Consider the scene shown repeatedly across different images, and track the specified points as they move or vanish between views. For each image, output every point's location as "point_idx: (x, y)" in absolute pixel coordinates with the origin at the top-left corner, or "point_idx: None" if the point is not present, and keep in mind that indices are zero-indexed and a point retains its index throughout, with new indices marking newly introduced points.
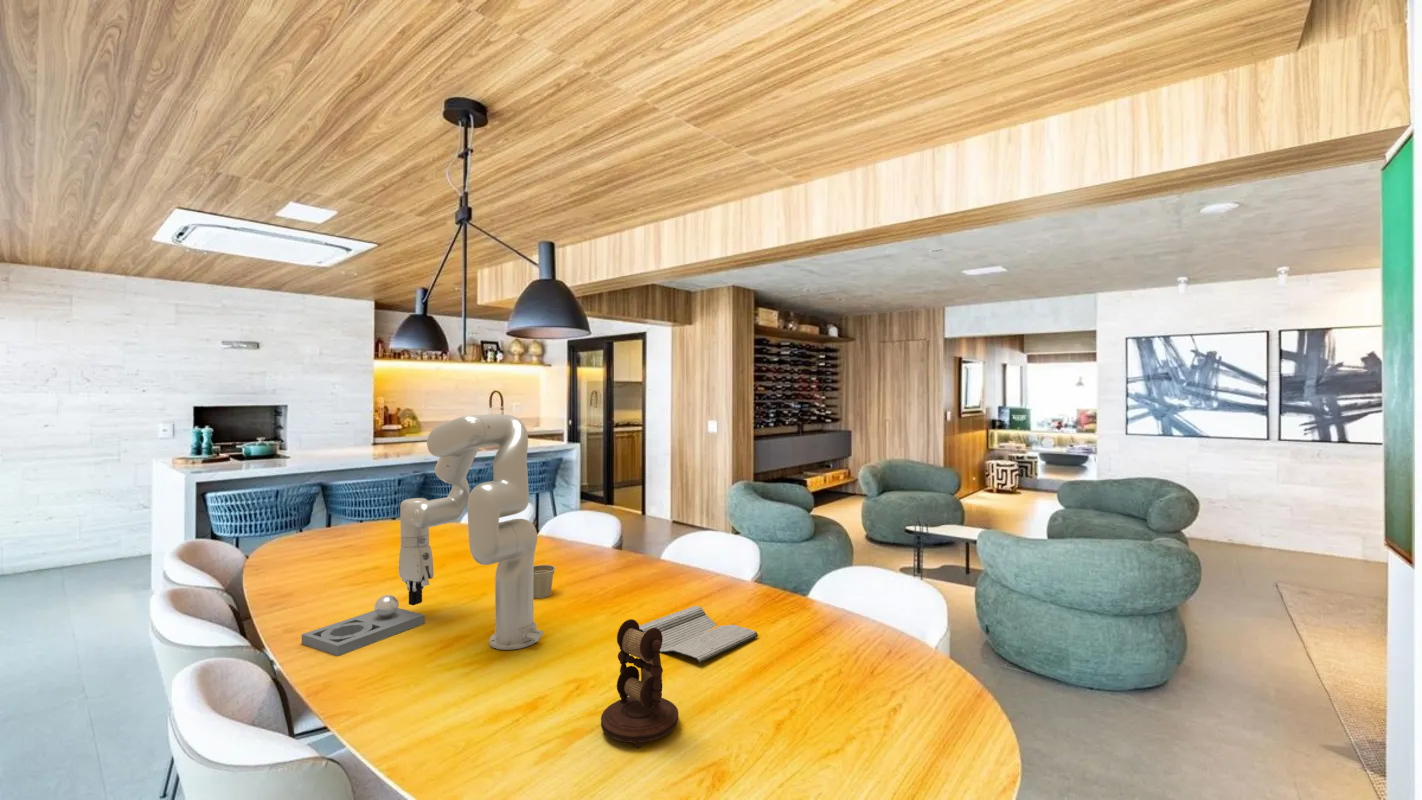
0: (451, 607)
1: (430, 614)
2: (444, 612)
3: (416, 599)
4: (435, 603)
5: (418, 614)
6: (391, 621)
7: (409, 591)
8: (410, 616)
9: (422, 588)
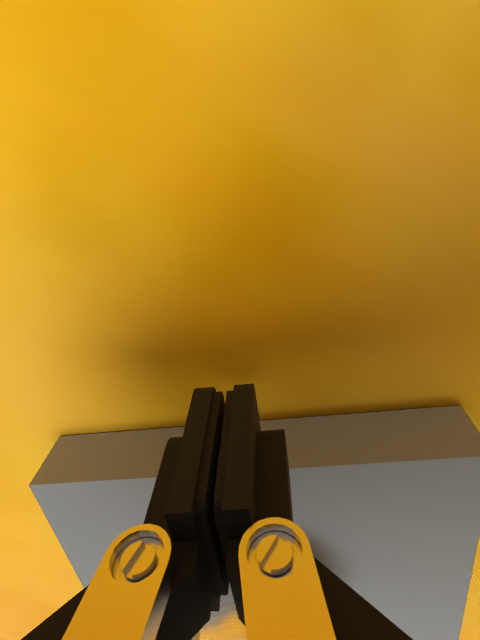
0: (325, 26)
1: (320, 282)
2: (394, 177)
3: (290, 488)
4: (42, 71)
5: (438, 473)
6: (378, 594)
7: (214, 610)
8: (415, 515)
9: (309, 549)
